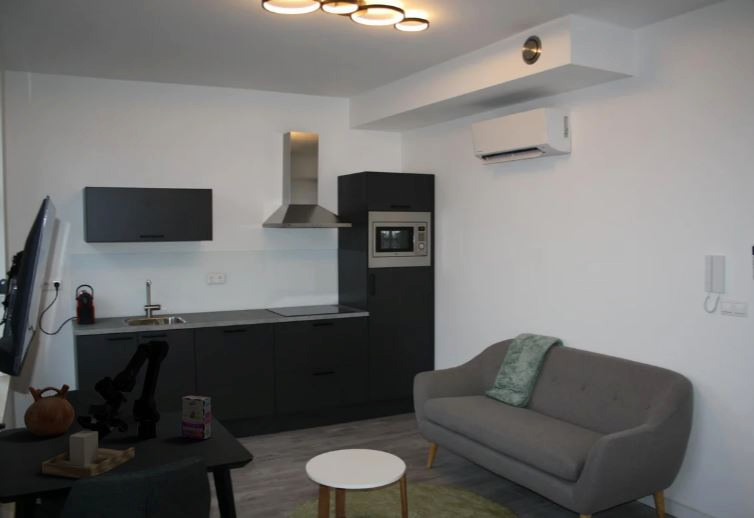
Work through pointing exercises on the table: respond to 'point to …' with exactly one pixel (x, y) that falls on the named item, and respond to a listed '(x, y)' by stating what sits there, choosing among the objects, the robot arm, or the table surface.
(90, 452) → the cream block
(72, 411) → the jug
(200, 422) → the candy bar box
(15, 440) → the table surface
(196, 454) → the table surface
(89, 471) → the wooden tray
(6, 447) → the table surface
